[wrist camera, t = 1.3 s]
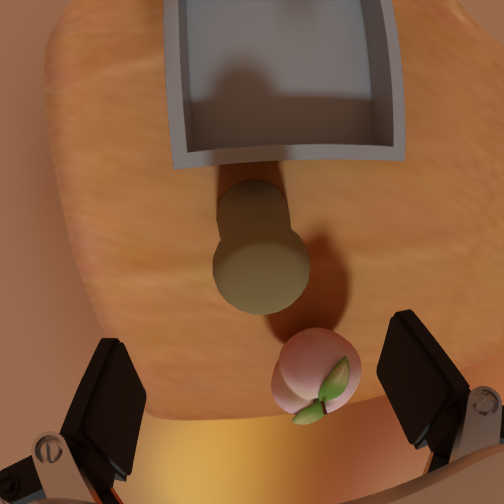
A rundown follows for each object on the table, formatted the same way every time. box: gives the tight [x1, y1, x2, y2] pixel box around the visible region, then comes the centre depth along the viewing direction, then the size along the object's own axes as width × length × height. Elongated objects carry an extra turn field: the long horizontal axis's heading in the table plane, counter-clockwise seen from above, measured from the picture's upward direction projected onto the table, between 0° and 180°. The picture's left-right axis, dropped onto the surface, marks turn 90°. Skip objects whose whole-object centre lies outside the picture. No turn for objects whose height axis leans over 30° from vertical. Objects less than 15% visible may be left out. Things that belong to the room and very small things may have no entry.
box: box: [163, 0, 405, 170], centre depth 17 cm, size 16×16×4 cm
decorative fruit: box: [271, 327, 361, 424], centre depth 25 cm, size 9×8×10 cm
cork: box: [213, 180, 310, 315], centre depth 19 cm, size 6×6×11 cm
